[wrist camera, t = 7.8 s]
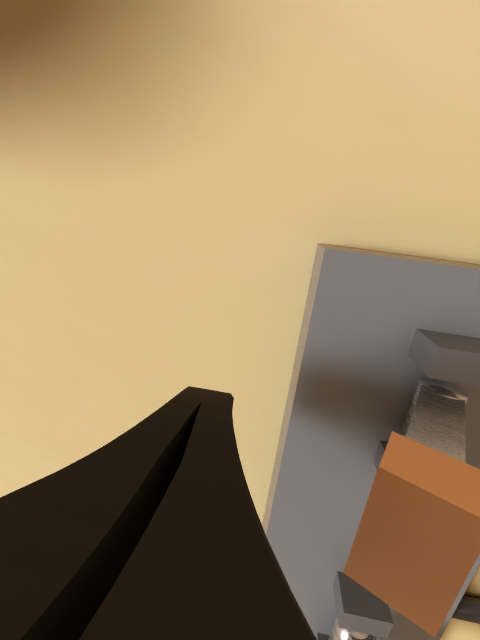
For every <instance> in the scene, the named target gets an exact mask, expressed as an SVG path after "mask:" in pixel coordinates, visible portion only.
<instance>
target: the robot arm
mask: <svg viewBox="0 0 480 640" xmlns="http://www.w3.org/2000/svg"><path fill="white" fill-rule="evenodd" d="M233 400H234V398H233V396H232V395H231V394H230V393H225V392H219V391H213V390H207V389H202V388H196V387H190V386H189V387H187V388H186V389H184V390H183V391H182V392H180V393H179V394H178V395H176V396H175V397H174V398H172V399H171V400H170V401H169V402H167V403H166V404H165V405H163V406H162V407H161V408H159V409H158V410H157V411H155V412H154V413H152V414H151V415H150V416H148V417H147V418H145V419H144V420H143V421H141V422H140V423H139V424H137V425H136V426H134V427H133V428H131V429H130V430H128V431H127V432H125V433H123V434H122V435H120V436H119V437H117V438H116V439H114V440H113V441H111V442H110V443H108V444H106V445H105V446H103V447H101V448H100V449H98V450H96V451H94V452H93V453H91V454H89V455H87V456H86V457H84V458H82V459H80V460H78V461H76V462H74V463H72V464H71V465H69V466H67V467H65V468H63V469H61V470H59V471H57V472H55V473H53V474H51V475H49V476H46V477H44V478H42V479H40V480H38V481H36V482H33V483H31V484H29V485H27V486H25V487H23V488H20V489H18V490H16V491H14V492H12V493H10V494H7V495H5V496H3V497H1V498H0V640H317V639H316V637H315V635H314V634H313V632H312V630H311V628H310V626H309V624H308V622H307V620H306V618H305V616H304V614H303V612H302V610H301V608H300V606H299V605H298V603H297V601H296V599H295V597H294V595H293V593H292V591H291V589H290V587H289V585H288V582H287V580H286V578H285V576H284V574H283V572H282V569H281V567H280V565H279V563H278V561H277V559H276V556H275V554H274V552H273V550H272V548H271V546H270V544H269V541H268V539H267V537H266V534H265V532H264V529H263V527H262V524H261V522H260V519H259V517H258V514H257V512H256V509H255V506H254V503H253V501H252V498H251V495H250V492H249V489H248V486H247V483H246V480H245V476H244V473H243V469H242V465H241V462H240V458H239V454H238V449H237V444H236V439H235V434H234V427H233V418H232V407H233Z"/></svg>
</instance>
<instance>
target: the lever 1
mask: <svg viewBox="0 0 480 640" xmlns="http://www.w3.org/2000/svg"><path fill="white" fill-rule="evenodd" d="M329 640H380V638H379V637H377V636H373V635H368V634H364V633H360V632H355V631H351V630H347V629H342V628H339V627H338V620H337V617H336V620H335V622H334V625H333V628H332V631H331V634H330V637H329Z"/></svg>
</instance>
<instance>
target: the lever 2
mask: <svg viewBox="0 0 480 640" xmlns="http://www.w3.org/2000/svg"><path fill="white" fill-rule="evenodd" d="M468 398H469V395H468V393H467V392H466V391H465V390H464V389H462V388H461V387H459V386H458V385H456V384H454V383H451V382H449V381H444V380H438V379H432V378H428V377H427V376H426V377H421V378H420V379H419V382H418V385H417V388H416V391H415V393H414V396H413V399H412V402H411V405H410V408H409V411H408V413H407V416H406V419H405V422H404V425H403V428H402V431H401V433H400V434H398V433H395V432H393V431H392V433H391V436H390V438H389V441H388V444H387V446H386V449H385V452H384V454H383V457H382V459H381V462H380V465H379V467H378V470H377V473H376V476H375V479H374V482H373V485H372V488H371V491H370V494H369V497H368V500H367V503H366V506H365V509H364V512H363V515H362V518H361V521H360V524H359V527H358V530H357V533H356V536H355V539H354V542H353V545H352V548H351V551H350V554H349V557H348V560H347V563H346V566H345V569H344V572H343V573H344V574H346V575H347V576H348V577H350V578H351V579H353V580H354V581H355V582H357V583H358V584H360V585H361V586H363V587H364V588H365V589H367V590H368V591H370V592H371V593H372V594H374V595H375V596H377V597H378V598H379V599H381V600H382V601H384V602H385V603H386V604H388V605H389V606H391V607H392V608H393V609H395V610H396V611H398V612H399V613H400V614H402V615H403V616H405V617H406V618H408V619H409V620H410V621H412V622H413V623H415V624H416V625H417V626H419V627H420V628H422V629H423V630H424V631H426V632H427V633H429V634H430V635H431V636H433V637H434V638H435V637H436V635H437V633H438V631H439V629H440V627H441V626H442V624H443V622H444V620H445V618H446V616H447V614H448V612H449V610H450V609H451V607H452V605H453V603H454V601H455V599H456V597H457V595H458V593H459V592H460V590H461V588H462V586H463V584H464V582H465V580H466V578H467V577H468V575H469V573H470V571H471V569H472V567H473V565H474V563H475V561H476V560H477V558H478V556H479V554H480V469H478V468H476V467H473V466H471V465H469V464H466V443H465V405H466V402H467V400H468Z"/></svg>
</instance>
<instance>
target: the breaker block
mask: <svg viewBox="0 0 480 640" xmlns="http://www.w3.org/2000/svg"><path fill="white" fill-rule="evenodd" d="M426 376H427V377H428V378H432V379H438V380H444V381H449V382H451V383H454V384H456V385H458V386H459V387H461V388H462V389H464V390H465V391H466V392H467V393H468V395H469V398H468V400H467V402H466V405H465V443H466V464H469V465H471V466H473V467H476V468H478V469H480V265H477V264H469V263H462V262H454V261H447V260H439V259H432V258H424V257H417V256H409V255H402V254H394V253H387V252H379V251H372V250H364V249H356V248H349V247H341V246H334V245H326V244H319V243H318V246H317V251H316V256H315V261H314V266H313V271H312V276H311V282H310V287H309V292H308V297H307V302H306V307H305V312H304V317H303V322H302V327H301V332H300V337H299V342H298V347H297V352H296V358H295V363H294V368H293V373H292V378H291V383H290V388H289V393H288V398H287V403H286V408H285V413H284V418H283V423H282V429H281V434H280V439H279V444H278V449H277V454H276V459H275V464H274V469H273V474H272V479H271V484H270V489H269V494H268V500H267V505H266V510H265V515H264V520H263V525H262V527H263V529H264V532H265V534H266V537H267V539H268V541H269V544H270V546H271V548H272V550H273V552H274V554H275V556H276V559H277V561H278V563H279V565H280V567H281V569H282V572H283V574H284V576H285V578H286V580H287V582H288V585H289V587H290V589H291V591H292V593H293V595H294V597H295V599H296V601H297V603H298V605H299V606H300V608H301V610H302V612H303V614H304V616H305V618H306V620H307V622H308V624H309V626H310V628H311V630H312V632H313V634H314V635H315V637H316V639H317V640H329V637H330V634H331V631H332V628H333V625H334V622H335V620H336V617H337V620H338V627H339V628H342V629H347V630H351V631H355V632H360V633H364V634H368V635H373V636H377V637H379V638H380V640H439V639H440V638H441V636H442V634H443V632H444V630H445V628H446V626H447V625H448V623H449V621H450V619H451V618H456V619H460V620H465V621H469V622H474V623H478V624H480V599H478V598H473V597H469V596H464V593H465V591H466V589H467V587H468V586H469V584H470V582H471V580H472V578H473V576H474V575H475V573H476V571H477V569H478V567H479V565H480V554H479V556H478V558H477V560H476V561H475V563H474V565H473V567H472V569H471V571H470V573H469V575H468V577H467V578H466V580H465V582H464V584H463V586H462V588H461V590H460V592H459V593H458V595H457V597H456V599H455V601H454V603H453V605H452V607H451V609H450V610H449V612H448V614H447V616H446V618H445V620H444V622H443V624H442V626H441V627H440V629H439V631H438V633H437V635H436V637H435V638H434V637H433V636H431V635H430V634H429V633H427V632H426V631H424V630H423V629H422V628H420V627H419V626H417V625H416V624H415V623H413V622H412V621H410V620H409V619H408V618H406V617H405V616H403V615H402V614H400V613H399V612H398V611H396V610H395V609H393V608H392V607H391V606H389V605H388V604H386V603H385V602H384V601H382V600H381V599H379V598H378V597H377V596H375V595H374V594H372V593H371V592H370V591H368V590H367V589H365V588H364V587H363V586H361V585H360V584H358V583H357V582H355V581H354V580H353V579H351V578H350V577H348V576H347V575H346V574H344V573H343V572H344V569H345V566H346V563H347V560H348V557H349V554H350V551H351V548H352V545H353V542H354V539H355V536H356V533H357V530H358V527H359V524H360V521H361V518H362V515H363V512H364V509H365V506H366V503H367V500H368V497H369V494H370V491H371V488H372V485H373V482H374V479H375V476H376V473H377V470H378V467H379V465H380V462H381V459H382V457H383V454H384V452H385V449H386V446H387V444H388V441H389V438H390V436H391V433H392V431H393V432H395V433H398V434H400V433H401V431H402V428H403V425H404V422H405V419H406V416H407V413H408V411H409V408H410V405H411V402H412V399H413V396H414V393H415V391H416V388H417V385H418V382H419V379H420V378H421V377H426Z"/></svg>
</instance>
